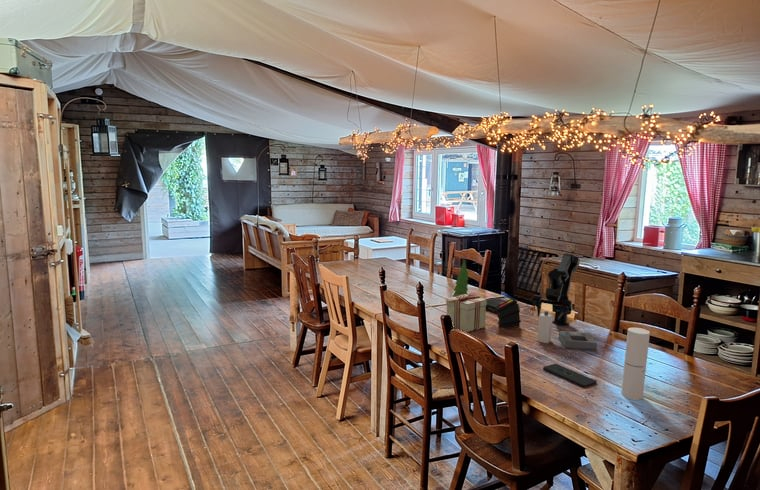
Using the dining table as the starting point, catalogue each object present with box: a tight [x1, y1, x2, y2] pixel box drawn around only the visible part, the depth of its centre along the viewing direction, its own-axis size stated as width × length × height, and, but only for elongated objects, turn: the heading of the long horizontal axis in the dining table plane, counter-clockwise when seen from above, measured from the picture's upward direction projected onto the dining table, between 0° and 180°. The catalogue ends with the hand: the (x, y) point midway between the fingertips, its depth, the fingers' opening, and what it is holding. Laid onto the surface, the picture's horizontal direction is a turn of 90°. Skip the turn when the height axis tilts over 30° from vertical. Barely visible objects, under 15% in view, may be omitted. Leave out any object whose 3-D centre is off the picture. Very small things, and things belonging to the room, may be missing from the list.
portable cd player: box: [486, 297, 520, 315], centre depth 296 cm, size 16×17×4 cm
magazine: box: [495, 297, 522, 329], centre depth 262 cm, size 4×13×15 cm, turn 103°
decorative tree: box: [452, 259, 469, 297], centre depth 290 cm, size 10×9×30 cm
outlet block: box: [558, 330, 598, 352], centre depth 238 cm, size 14×14×4 cm
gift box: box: [444, 292, 488, 333], centre depth 261 cm, size 17×18×17 cm
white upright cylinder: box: [537, 310, 554, 344], centre depth 242 cm, size 5×5×15 cm
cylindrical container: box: [620, 327, 651, 401], centre depth 184 cm, size 7×7×25 cm
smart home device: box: [542, 363, 598, 389], centre depth 202 cm, size 8×2×20 cm
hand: (547, 317), depth 244 cm, fingers open, 9 cm apart
